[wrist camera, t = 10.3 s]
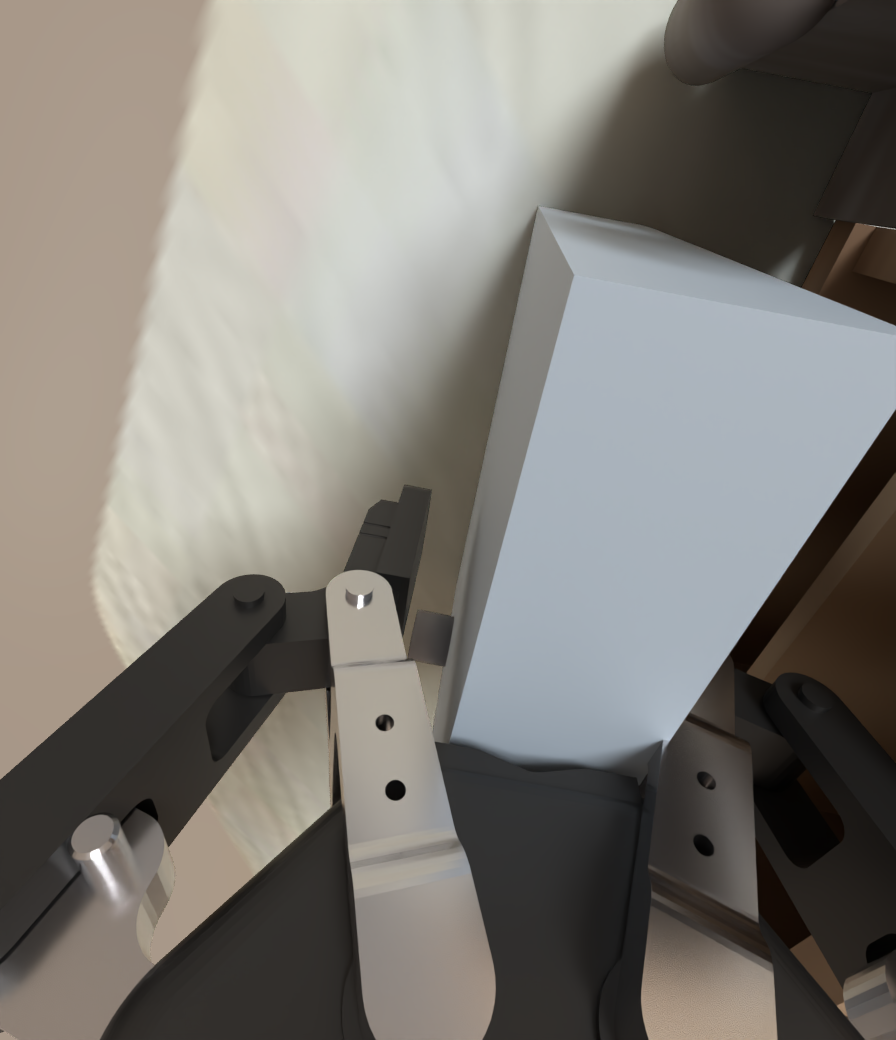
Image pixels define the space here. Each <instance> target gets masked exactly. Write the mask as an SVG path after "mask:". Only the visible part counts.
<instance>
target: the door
mask: <svg viewBox="0 0 896 1040" xmlns="http://www.w3.org/2000/svg"><path fill="white" fill-rule="evenodd" d="M895 410H896V326H895V325H892V324H890V323H887V322H885V321H882V320H880V319H877V318H875V317H872V316H870V315H867V314H865V313H862V312H860V311H857V310H855V309H852V308H850V307H847V306H845V305H842V304H840V303H837V302H835V301H832V300H830V299H827V298H825V297H822V296H820V295H817V294H815V293H812V292H810V291H807V290H805V289H802V288H800V287H798V286H795V285H793V284H790V283H788V282H785V281H783V280H780V279H778V278H775V277H773V276H770V275H768V274H765V273H763V272H760V271H758V270H755V269H753V268H750V267H748V266H745V265H743V264H740V263H738V262H735V261H733V260H730V259H728V258H725V257H723V256H720V255H718V254H715V253H713V252H710V251H708V250H705V249H703V248H700V247H698V246H695V245H693V244H690V243H688V242H685V241H683V240H680V239H678V238H675V237H673V236H670V235H668V234H666V233H663V232H661V231H658V230H656V229H653V228H651V227H648V226H644V225H639V224H633V223H628V222H623V221H617V220H612V219H607V218H601V217H596V216H591V215H585V214H580V213H575V212H569V211H564V210H558V209H553V208H548V207H542V206H538V209H537V214H536V218H535V223H534V228H533V232H532V237H531V241H530V246H529V251H528V255H527V260H526V265H525V269H524V274H523V279H522V283H521V288H520V292H519V297H518V302H517V306H516V311H515V316H514V320H513V325H512V330H511V334H510V339H509V343H508V348H507V353H506V357H505V362H504V367H503V371H502V376H501V381H500V385H499V390H498V394H497V399H496V404H495V408H494V413H493V418H492V422H491V427H490V432H489V436H488V441H487V445H486V450H485V455H484V459H483V464H482V469H481V473H480V478H479V482H478V487H477V492H476V496H475V501H474V506H473V510H472V515H471V520H470V524H469V529H468V533H467V538H466V543H465V547H464V552H463V557H462V561H461V566H460V571H459V575H458V580H457V584H456V590H455V596H454V602H453V608H452V614H451V616H448V615H443V614H438V613H433V612H428V611H423V610H418V611H417V615H416V619H415V623H414V628H413V633H412V637H411V643H410V648H409V654H408V659H410V658H413V659H414V661H419V662H424V663H429V664H434V665H439V666H443V670H442V676H441V682H440V688H439V694H438V700H437V707H436V713H435V719H434V725H433V731H432V733H433V738H434V741H435V742H441V743H446V744H452V745H457V746H463V747H468V748H474V749H479V750H481V751H484V752H486V753H488V754H491V755H493V756H495V757H497V758H500V759H502V760H504V761H507V762H509V763H511V764H513V765H516V766H518V767H520V768H523V769H525V770H527V771H530V772H550V771H562V770H573V769H585V768H586V769H591V770H597V771H602V772H608V773H614V774H619V775H625V776H630V777H636V778H637V781H638V785H640V784H641V782H642V781H643V779H644V778H645V776H646V775H647V774H648V766H647V763H648V762H649V760H650V759H651V757H652V756H653V754H654V753H655V751H656V750H657V748H658V747H659V745H660V744H661V742H662V741H663V740H668V741H670V740H671V738H672V737H673V735H674V734H675V732H676V731H677V730H678V728H679V727H680V725H681V724H682V722H683V721H684V719H685V718H686V716H687V715H688V713H689V712H690V710H691V709H692V707H693V706H694V705H695V703H696V702H697V700H698V699H699V697H700V696H701V694H702V693H703V691H704V690H705V688H706V687H707V685H708V684H709V683H710V681H711V680H712V678H713V677H714V675H715V674H716V672H717V671H718V669H719V668H720V666H721V665H722V663H723V662H724V661H725V659H726V658H727V656H728V655H729V653H730V652H731V650H732V649H733V647H734V646H735V644H736V643H737V641H738V640H739V639H740V637H741V636H742V634H743V633H744V631H745V630H746V628H747V627H748V625H749V624H750V622H751V621H752V619H753V618H754V616H755V615H756V614H757V612H758V611H759V609H760V608H761V606H762V605H763V603H764V602H765V600H766V599H767V597H768V596H769V594H770V593H771V592H772V590H773V589H774V587H775V586H776V584H777V583H778V581H779V580H780V578H781V577H782V575H783V574H784V572H785V571H786V570H787V568H788V567H789V565H790V564H791V562H792V561H793V559H794V558H795V556H796V555H797V553H798V552H799V550H800V549H801V548H802V546H803V545H804V543H805V542H806V540H807V539H808V537H809V536H810V534H811V533H812V531H813V530H814V528H815V527H816V525H817V524H818V523H819V521H820V520H821V518H822V517H823V515H824V514H825V512H826V511H827V509H828V508H829V506H830V505H831V503H832V502H833V501H834V499H835V498H836V496H837V495H838V493H839V492H840V490H841V489H842V487H843V486H844V484H845V483H846V481H847V480H848V479H849V477H850V476H851V474H852V473H853V471H854V470H855V468H856V467H857V465H858V464H859V462H860V461H861V459H862V458H863V456H864V455H865V454H866V452H867V451H868V449H869V448H870V446H871V445H872V443H873V442H874V440H875V439H876V437H877V436H878V434H879V433H880V432H881V430H882V429H883V427H884V426H885V424H886V423H887V421H888V420H889V418H890V417H891V415H892V414H893V412H894V411H895Z"/></svg>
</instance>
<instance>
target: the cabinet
mask: <svg viewBox="0 0 896 1040" xmlns="http://www.w3.org/2000/svg"><path fill="white" fill-rule="evenodd" d="M664 52H665V57H666V61H667V64H668V66H669V68H670V70H671V72H672V73H673V75H674V76H675V77H676V78H677V79H679V80H680V81H681V82H683V83H685V84H689V85H695V86H699V85H705V84H709V83H712V82H714V81H716V80H718V79H720V78H722V77H724V76H726V75H728V74H730V73H732V72H734V71H736V70H738V69H740V68H743V69H748V70H754V71H759V72H764V73H769V74H775V75H780V76H785V77H790V78H795V79H801V80H806V81H811V82H816V83H822V84H827V85H832V86H837V87H843V88H848V89H853V90H858V91H864V92H869V93H872V95H871V97H870V99H869V101H868V103H867V105H866V107H865V109H864V111H863V113H862V115H861V118H860V120H859V122H858V124H857V126H856V128H855V130H854V132H853V134H852V136H851V138H850V140H849V142H848V144H847V146H846V148H845V151H844V153H843V155H842V157H841V159H840V161H839V163H838V165H837V167H836V169H835V171H834V173H833V175H832V177H831V179H830V182H829V184H828V186H827V188H826V190H825V192H824V194H823V196H822V198H821V200H820V202H819V204H818V206H817V208H816V210H815V212H814V215H813V216H817V217H822V218H827V219H832V220H836V221H835V223H834V225H833V227H832V229H831V231H830V232H829V234H828V236H827V238H826V240H825V242H824V244H823V246H822V248H821V250H820V252H819V254H818V256H817V258H816V260H815V262H814V264H813V266H812V268H811V270H810V272H809V274H808V276H807V278H806V280H805V282H804V284H803V286H802V289H805V290H807V291H810V292H812V293H815V294H817V295H820V296H822V297H825V298H827V299H830V300H832V301H835V302H837V303H840V304H842V305H845V306H847V307H850V308H852V309H855V310H857V311H860V312H862V313H865V314H867V315H870V316H872V317H875V318H877V319H880V320H882V321H885V322H887V323H890V324H892V325H895V326H896V230H894V229H887V228H880V227H874V226H881V227H888V228H895V229H896V0H678V1H677V3H676V4H675V6H674V8H673V10H672V12H671V14H670V17H669V20H668V23H667V26H666V31H665V37H664ZM864 224H867V225H864ZM869 225H874V226H869ZM729 655H730V656H731V658H732V660H733V663H734V668H736V669H738V670H740V671H742V672H745V673H747V674H749V675H752V676H754V677H757V678H759V679H761V680H764V681H766V682H768V683H771V684H773V683H774V681H775V680H776V679H777V678H778V676H780V675H781V674H783V673H788V672H792V673H799V674H803V675H806V676H808V677H811V678H813V679H815V680H817V681H819V682H820V683H822V684H824V685H825V686H826V687H828V688H829V689H830V690H832V691H833V692H834V693H835V694H836V695H837V696H838V697H839V698H840V699H841V700H842V701H843V703H844V704H845V705H846V706H847V707H848V708H849V709H850V711H851V712H852V713H853V714H854V715H855V716H856V718H857V719H858V720H859V721H860V722H861V723H862V725H863V726H864V727H865V728H866V729H867V730H868V731H869V733H870V734H871V735H872V736H873V737H874V738H875V740H876V741H877V742H878V743H879V744H880V745H881V747H882V748H883V749H884V750H885V751H886V752H887V753H888V755H889V756H890V757H891V758H892V759H893V760H894V762H895V763H896V410H895V411H894V412H893V414H892V415H891V417H890V418H889V420H888V421H887V423H886V424H885V426H884V427H883V429H882V430H881V432H880V433H879V434H878V436H877V437H876V439H875V440H874V442H873V443H872V445H871V446H870V448H869V449H868V451H867V452H866V454H865V455H864V456H863V458H862V459H861V461H860V462H859V464H858V465H857V467H856V468H855V470H854V471H853V473H852V474H851V476H850V477H849V479H848V480H847V481H846V483H845V484H844V486H843V487H842V489H841V490H840V492H839V493H838V495H837V496H836V498H835V499H834V501H833V502H832V503H831V505H830V506H829V508H828V509H827V511H826V512H825V514H824V515H823V517H822V518H821V520H820V521H819V523H818V524H817V525H816V527H815V528H814V530H813V531H812V533H811V534H810V536H809V537H808V539H807V540H806V542H805V543H804V545H803V546H802V548H801V549H800V550H799V552H798V553H797V555H796V556H795V558H794V559H793V561H792V562H791V564H790V565H789V567H788V568H787V570H786V571H785V572H784V574H783V575H782V577H781V578H780V580H779V581H778V583H777V584H776V586H775V587H774V589H773V590H772V592H771V593H770V594H769V596H768V597H767V599H766V600H765V602H764V603H763V605H762V606H761V608H760V609H759V611H758V612H757V614H756V615H755V616H754V618H753V619H752V621H751V622H750V624H749V625H748V627H747V628H746V630H745V631H744V633H743V634H742V636H741V637H740V639H739V640H738V641H737V643H736V644H735V646H734V647H733V649H732V650H731V652H730V653H729ZM797 780H798V782H799V783H800V785H801V786H802V787H803V789H804V790H805V792H806V793H807V795H808V796H809V798H810V799H811V801H812V802H813V803H814V805H815V806H816V808H817V809H818V811H819V812H820V814H821V815H822V817H823V818H824V819H825V821H826V822H827V824H828V825H829V827H830V828H831V830H832V831H833V832H834V834H835V835H836V837H837V838H838V840H839V841H840V843H841V842H842V840H843V838H844V825H843V822H842V819H841V817H840V815H839V814H838V812H837V810H836V809H835V808H834V806H833V805H832V804H831V802H830V801H829V799H828V798H827V797H826V795H825V794H824V792H823V791H822V790H821V788H820V787H819V785H818V784H817V783H816V781H815V780H814V778H813V777H812V776H811V774H810V773H809V771H808V770H807V769H806V770H805V771H804V772H803V773H802V774H801V775H800V776H799V777H798V778H797ZM755 847H756V872H757V897H758V913H759V914H760V915H761V916H762V917H763V919H764V920H765V921H766V922H767V923H768V924H769V926H770V927H771V928H772V929H773V930H774V932H775V933H776V934H777V935H778V936H779V938H780V939H781V940H782V941H783V942H784V944H785V945H786V946H787V947H788V948H789V949H790V951H791V952H792V953H793V954H794V955H795V957H796V958H797V959H798V960H799V961H800V963H801V964H802V965H803V966H804V967H805V969H806V970H807V971H808V972H809V973H810V974H811V976H812V977H813V978H814V979H815V980H816V982H817V983H818V984H819V985H820V986H821V988H822V989H823V990H824V991H825V992H826V993H827V995H828V996H829V997H830V998H831V999H832V1001H833V1002H834V1003H835V1004H836V1005H837V1007H838V1008H839V1009H840V1010H841V1011H842V1013H843V1014H844V1015H845V1016H848V1015H847V1012H846V1009H845V1004H844V997H843V989H842V987H841V985H840V984H839V982H838V980H837V978H836V977H835V975H834V973H833V971H832V970H831V968H830V966H829V964H828V963H827V961H826V959H825V957H824V956H823V954H822V952H821V951H820V949H819V947H818V945H817V944H816V942H815V940H814V938H813V937H812V935H811V933H810V931H809V930H808V928H807V926H806V924H805V923H804V921H803V919H802V917H801V916H800V914H799V912H798V910H797V909H796V907H795V905H794V903H793V902H792V900H791V898H790V896H789V895H788V893H787V891H786V890H785V888H784V886H783V884H782V883H781V881H780V879H779V877H778V876H777V874H776V872H775V870H774V869H773V867H772V865H771V863H770V862H769V860H768V858H767V856H766V855H765V853H764V851H763V849H762V848H761V846H760V844H759V842H758V841H757V839H756V837H755Z"/></svg>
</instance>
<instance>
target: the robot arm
mask: <svg viewBox="0 0 896 1040" xmlns="http://www.w3.org/2000/svg"><path fill="white" fill-rule="evenodd" d="M431 492H432V490H430V489H425V488H419V487H414V486H408V485H404V487H403V491H402V494H401V497H400V500H399V503H397V502H391V501H386V500H380V501H379V502H378V503H376V504H375V505H374V506H373V507H371V508H370V509H369V510H368V513H367V515H366V518H365V520H364V524H363V525H362V528H361V530H360V533H359V535H358V537H357V540H356V542H355V545H354V547H353V550H352V552H351V555H350V557H349V560H348V562H347V565H346V567H345V569H344V572H343V573H341V574H339V575H337V576H335V577H334V578H333V579H332V580H331V581H330V582H329V584H328V585H327V587H326V588H323V589H320V590H317V591H312V592H300V593H285V590H284V588H283V586H282V585H281V584H280V583H279V582H278V581H276V580H275V579H273V578H271V577H268V576H264V575H255V574H253V575H243V576H239V577H236V578H233V579H231V580H229V581H227V582H225V583H224V584H222V585H221V586H220V587H219V588H217V589H216V590H215V591H214V592H213V593H212V594H211V595H210V596H208V597H207V598H206V599H205V600H204V601H203V602H202V603H200V604H199V605H198V606H197V607H196V608H195V609H194V610H192V611H191V612H190V613H189V614H188V615H187V616H186V617H185V618H183V619H182V620H181V621H180V622H179V623H178V624H177V625H175V626H174V627H173V628H172V629H171V630H170V631H169V632H167V633H166V634H165V635H164V636H163V637H162V638H161V639H160V640H158V641H157V642H156V643H155V644H154V645H153V646H152V647H150V648H149V649H148V650H147V651H146V652H145V653H144V654H143V655H141V656H140V657H139V658H138V659H137V660H136V661H135V662H133V663H132V664H131V665H130V666H129V667H128V668H127V669H125V670H124V671H123V672H122V673H121V674H120V675H119V676H118V677H116V678H115V679H114V680H113V681H112V682H111V683H110V684H108V685H107V686H106V687H105V688H104V689H103V690H102V691H101V692H99V693H98V694H97V695H96V696H95V697H94V698H93V699H92V700H90V701H89V702H88V703H87V704H86V705H85V706H83V707H82V708H81V709H80V710H79V711H78V712H77V713H76V714H74V715H73V716H72V717H71V718H70V719H69V720H68V721H66V722H65V723H64V724H63V725H62V726H61V727H60V728H58V729H57V730H56V731H55V732H54V733H53V734H52V735H51V736H49V737H48V738H47V739H46V740H45V741H44V742H43V743H41V744H40V745H39V746H38V747H37V748H36V749H35V750H34V751H32V752H31V753H30V754H29V755H28V756H27V757H26V758H24V759H23V760H22V761H21V762H20V763H19V764H18V765H16V766H15V767H14V768H13V769H12V770H11V771H10V772H9V773H7V774H6V775H5V776H4V777H3V778H2V779H1V780H0V1033H1V1032H6V1033H7V1034H9V1035H10V1036H12V1037H14V1038H15V1039H17V1040H896V763H895V762H894V760H893V759H892V758H891V757H890V756H889V755H888V753H887V752H886V751H885V750H884V749H883V748H882V747H881V745H880V744H879V743H878V742H877V741H876V740H875V738H874V737H873V736H872V735H871V734H870V733H869V731H868V730H867V729H866V728H865V727H864V726H863V725H862V723H861V722H860V721H859V720H858V719H857V718H856V716H855V715H854V714H853V713H852V712H851V711H850V709H849V708H848V707H847V706H846V705H845V704H844V703H843V701H842V700H841V699H840V698H839V697H838V696H837V695H836V694H835V693H834V692H833V691H832V690H830V689H829V688H828V687H826V686H825V685H824V684H822V683H820V682H819V681H817V680H815V679H813V678H811V677H808V676H806V675H803V674H799V673H792V672H788V673H783V674H781V675H780V676H778V678H777V679H776V680H775V681H774V683H773V684H771V683H768V682H766V681H764V680H761V679H759V678H757V677H754V676H752V675H749V674H747V673H745V672H742V671H740V670H738V669H736V668H734V663H733V660H732V658H731V656H730V655H728V656H727V658H726V659H725V661H724V662H723V663H722V665H721V666H720V668H719V669H718V671H717V672H716V674H715V675H714V677H713V678H712V680H711V681H710V683H709V684H708V685H707V687H706V688H705V690H704V691H703V693H702V694H701V696H700V697H699V699H698V700H697V702H696V703H695V705H694V706H693V707H692V709H691V710H690V712H689V713H688V715H687V716H686V718H685V719H684V721H683V722H682V724H681V725H680V727H679V728H678V730H677V731H676V732H675V734H674V735H673V737H672V738H671V740H670V741H668V740H663V741H662V742H661V744H660V745H659V747H658V748H657V750H656V751H655V753H654V754H653V756H652V757H651V759H650V760H649V762H648V763H647V766H648V774H647V775H646V776H645V778H644V779H643V781H642V782H641V784H640V785H638V781H637V778H636V777H630V776H625V775H619V774H614V773H608V772H602V771H597V770H591V769H586V768H585V769H573V770H562V771H550V772H530V771H527V770H525V769H523V768H520V767H518V766H516V765H513V764H511V763H509V762H507V761H504V760H502V759H500V758H497V757H495V756H493V755H491V754H488V753H486V752H484V751H481V750H479V749H474V748H468V747H463V746H457V745H452V744H446V743H441V742H435V741H434V738H433V733H432V729H431V725H430V720H429V716H428V712H427V708H426V703H425V699H424V695H423V690H422V686H421V682H420V678H419V673H418V669H417V666H416V663H415V661H414V659H413V658H410V659H407V656H406V652H405V648H404V643H403V639H402V638H403V634H404V629H405V625H406V621H407V616H408V612H409V607H410V603H411V598H412V594H413V590H414V585H415V581H416V576H417V572H418V567H419V563H420V558H421V554H422V548H423V543H424V537H425V531H426V524H427V518H428V512H429V505H430V499H431ZM320 688H325V701H326V717H327V733H328V750H329V787H330V805H331V808H330V809H329V810H328V811H327V812H325V813H324V814H323V815H322V816H321V817H320V818H319V819H318V820H317V821H315V822H314V823H313V824H312V825H311V826H310V827H309V828H308V829H306V830H305V831H304V832H303V833H302V834H301V835H300V836H299V837H298V838H296V839H295V840H294V841H293V842H292V843H291V844H290V845H289V846H287V847H286V848H285V849H284V850H283V851H282V852H281V853H280V854H279V855H277V856H276V857H275V858H274V859H273V860H272V861H271V862H270V863H268V864H267V865H266V866H265V867H264V868H263V869H262V870H261V871H260V872H258V873H257V874H256V875H255V876H254V877H253V878H252V879H251V880H249V882H247V883H246V884H245V885H244V886H243V887H242V888H241V889H239V890H238V891H237V892H236V893H235V894H234V895H233V896H232V897H230V898H229V899H228V900H227V901H226V902H225V903H224V904H223V905H222V906H220V907H219V908H218V909H217V910H216V911H215V912H214V913H213V914H212V915H210V916H209V917H208V918H207V919H206V920H205V921H204V922H203V923H202V924H200V925H199V926H198V927H197V928H196V929H195V930H194V931H192V932H191V933H190V934H189V935H188V936H187V937H186V938H185V939H183V940H182V941H181V942H180V943H179V944H178V945H177V946H176V947H175V948H173V949H172V950H171V951H170V952H169V953H168V954H167V955H166V956H165V957H163V958H162V959H161V960H160V961H159V962H158V963H157V964H156V965H154V964H153V963H152V962H151V943H152V937H153V933H154V930H155V927H156V924H157V922H158V920H159V918H160V916H161V914H162V912H163V910H164V908H165V907H166V905H167V903H168V901H169V899H170V896H171V894H172V891H173V887H174V883H175V866H174V862H173V859H172V857H171V854H170V851H169V848H168V847H169V846H170V845H171V843H172V842H173V841H174V839H175V838H176V837H177V835H178V834H179V833H180V832H181V830H182V829H183V828H184V826H185V825H186V824H187V822H188V821H189V820H190V818H191V817H192V816H193V814H194V813H195V812H196V810H197V809H198V808H199V806H200V805H201V804H202V803H203V801H204V800H205V799H206V797H207V796H208V795H209V793H210V792H211V791H212V790H213V788H214V787H215V786H216V784H217V783H218V782H219V780H220V779H221V778H222V776H223V775H224V774H225V772H226V771H227V770H228V769H229V767H230V766H231V765H232V763H233V762H234V761H235V759H236V758H237V757H238V755H239V754H240V753H241V751H242V750H243V749H244V748H245V746H246V745H247V744H248V742H249V741H250V740H251V738H252V737H253V736H254V734H255V733H256V732H257V730H258V729H259V728H260V727H261V725H262V724H263V723H264V721H265V720H266V719H267V717H268V716H269V715H270V713H271V712H272V711H273V710H274V708H275V707H276V706H277V704H278V703H279V702H280V700H281V699H282V698H283V696H284V695H285V693H286V692H294V691H303V690H312V689H320ZM806 769H807V770H808V771H809V773H810V774H811V776H812V777H813V778H814V780H815V781H816V783H817V784H818V785H819V787H820V788H821V790H822V791H823V792H824V794H825V795H826V797H827V798H828V799H829V801H830V802H831V804H832V805H833V806H834V808H835V809H836V810H837V812H838V814H839V815H840V817H841V819H842V822H843V825H844V838H843V840H842V842H841V843H840V841H839V840H838V838H837V837H836V835H835V834H834V832H833V831H832V830H831V828H830V827H829V825H828V824H827V822H826V821H825V819H824V818H823V817H822V815H821V814H820V812H819V811H818V809H817V808H816V806H815V805H814V803H813V802H812V801H811V799H810V798H809V796H808V795H807V793H806V792H805V790H804V789H803V787H802V786H801V785H800V783H799V782H798V780H797V778H798V777H799V776H800V775H801V774H802V773H803V772H804V771H805V770H806ZM755 837H756V839H757V841H758V842H759V844H760V846H761V848H762V849H763V851H764V853H765V855H766V856H767V858H768V860H769V862H770V863H771V865H772V867H773V869H774V870H775V872H776V874H777V876H778V877H779V879H780V881H781V883H782V884H783V886H784V888H785V890H786V891H787V893H788V895H789V896H790V898H791V900H792V902H793V903H794V905H795V907H796V909H797V910H798V912H799V914H800V916H801V917H802V919H803V921H804V923H805V924H806V926H807V928H808V930H809V931H810V933H811V935H812V937H813V938H814V940H815V942H816V944H817V945H818V947H819V949H820V951H821V952H822V954H823V956H824V957H825V959H826V961H827V963H828V964H829V966H830V968H831V970H832V971H833V973H834V975H835V977H836V978H837V980H838V982H839V984H840V985H841V987H842V989H843V997H844V1004H845V1009H846V1012H847V1015H848V1016H845V1015H844V1014H843V1013H842V1011H841V1010H840V1009H839V1008H838V1007H837V1005H836V1004H835V1003H834V1002H833V1001H832V999H831V998H830V997H829V996H828V995H827V993H826V992H825V991H824V990H823V989H822V988H821V986H820V985H819V984H818V983H817V982H816V980H815V979H814V978H813V977H812V976H811V974H810V973H809V972H808V971H807V970H806V969H805V967H804V966H803V965H802V964H801V963H800V961H799V960H798V959H797V958H796V957H795V955H794V954H793V953H792V952H791V951H790V949H789V948H788V947H787V946H786V945H785V944H784V942H783V941H782V940H781V939H780V938H779V936H778V935H777V934H776V933H775V932H774V930H773V929H772V928H771V927H770V926H769V924H768V923H767V922H766V921H765V920H764V919H763V917H762V916H761V915H760V914H759V913H758V897H757V872H756V847H755Z"/></svg>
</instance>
